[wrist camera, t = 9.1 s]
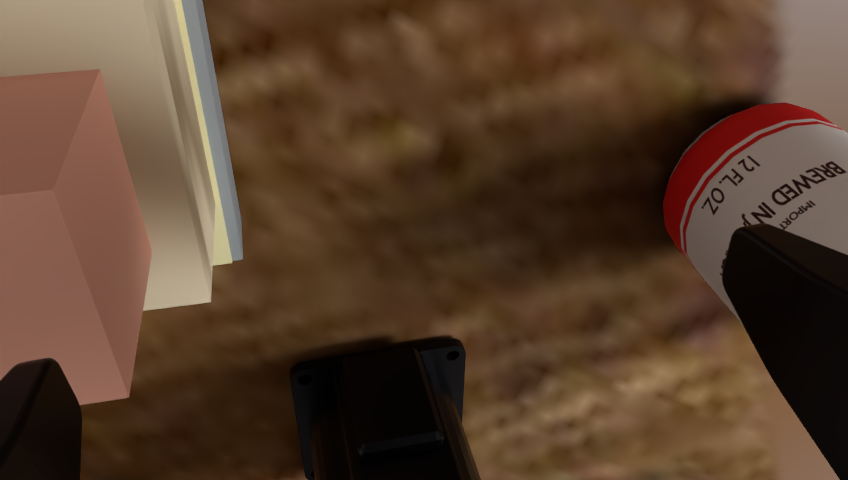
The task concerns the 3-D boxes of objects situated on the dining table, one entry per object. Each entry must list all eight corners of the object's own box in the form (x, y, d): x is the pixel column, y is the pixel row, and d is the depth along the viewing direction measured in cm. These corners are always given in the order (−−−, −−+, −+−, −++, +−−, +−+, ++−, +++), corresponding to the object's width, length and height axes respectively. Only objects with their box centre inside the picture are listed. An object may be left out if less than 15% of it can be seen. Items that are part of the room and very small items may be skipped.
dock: (241, 220, 22) (244, 293, 19) (-44, 254, 20) (-85, 338, 18) (166, -198, 15) (155, -179, 13) (-259, -192, 14) (-377, -169, 11)
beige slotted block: (215, 204, 19) (211, 302, 16) (-30, 230, 18) (-86, 340, 15) (158, -77, 15) (137, -20, 12) (-164, -63, 14) (-282, 3, 11)
